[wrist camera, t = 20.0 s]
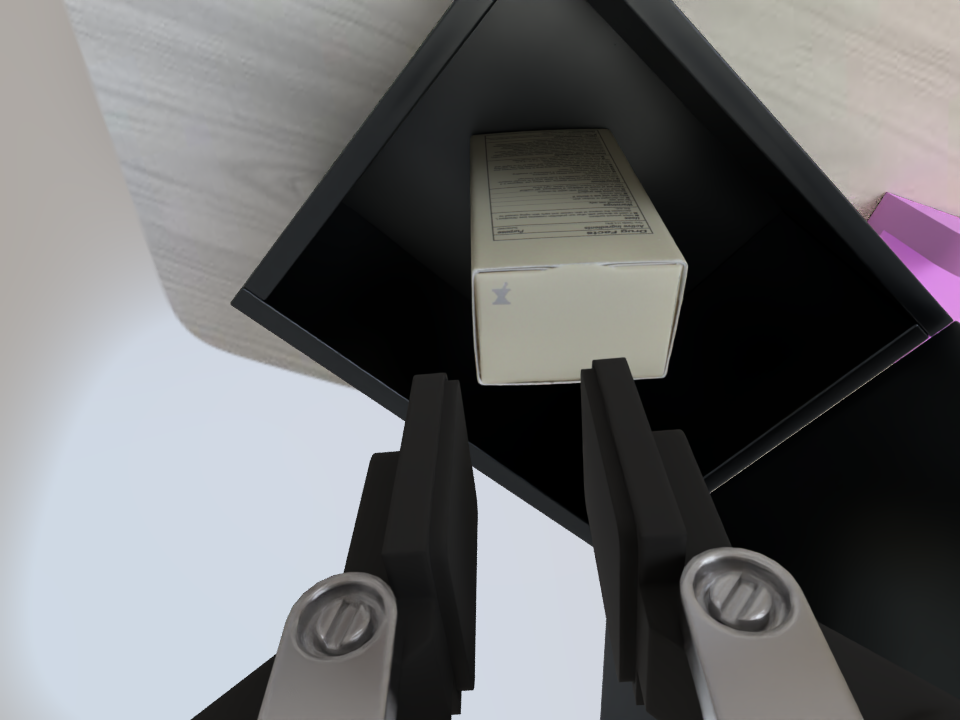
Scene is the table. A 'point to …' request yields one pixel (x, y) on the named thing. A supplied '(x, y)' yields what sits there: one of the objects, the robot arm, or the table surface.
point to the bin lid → (862, 518)
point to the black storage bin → (673, 192)
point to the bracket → (923, 246)
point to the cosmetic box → (567, 260)
